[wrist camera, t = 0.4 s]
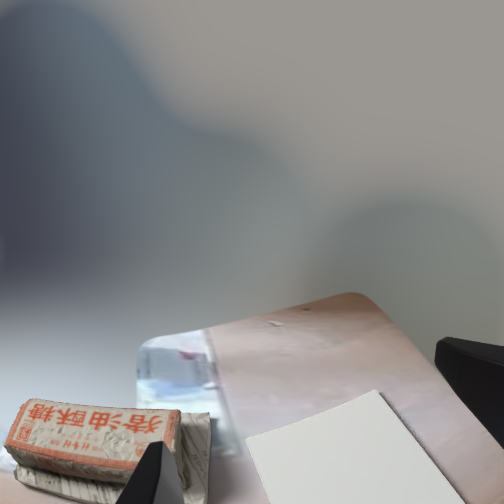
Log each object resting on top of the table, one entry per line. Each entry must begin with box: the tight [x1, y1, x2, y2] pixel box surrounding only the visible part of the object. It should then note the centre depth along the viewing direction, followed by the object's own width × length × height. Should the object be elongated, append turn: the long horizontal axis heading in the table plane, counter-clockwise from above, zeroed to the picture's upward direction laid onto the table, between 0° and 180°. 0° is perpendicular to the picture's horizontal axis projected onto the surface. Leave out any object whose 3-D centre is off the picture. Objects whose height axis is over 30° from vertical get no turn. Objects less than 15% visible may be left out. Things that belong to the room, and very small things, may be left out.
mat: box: [245, 389, 465, 504], centre depth 17 cm, size 16×12×1 cm
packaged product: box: [3, 399, 211, 504], centre depth 20 cm, size 18×5×10 cm
